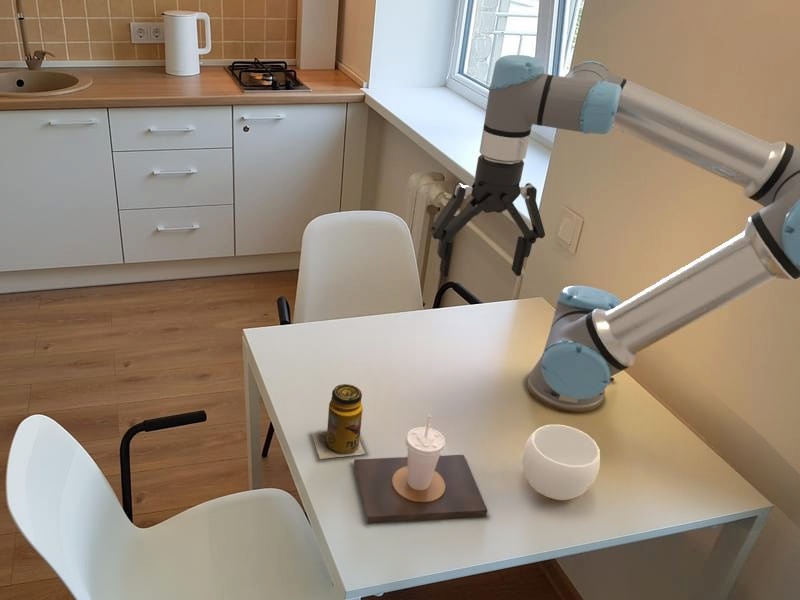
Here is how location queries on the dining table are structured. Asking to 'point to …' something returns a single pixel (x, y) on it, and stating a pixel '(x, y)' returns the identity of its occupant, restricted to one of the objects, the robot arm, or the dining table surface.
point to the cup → (561, 461)
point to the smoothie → (423, 455)
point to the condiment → (342, 424)
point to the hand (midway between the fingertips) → (479, 273)
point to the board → (417, 491)
